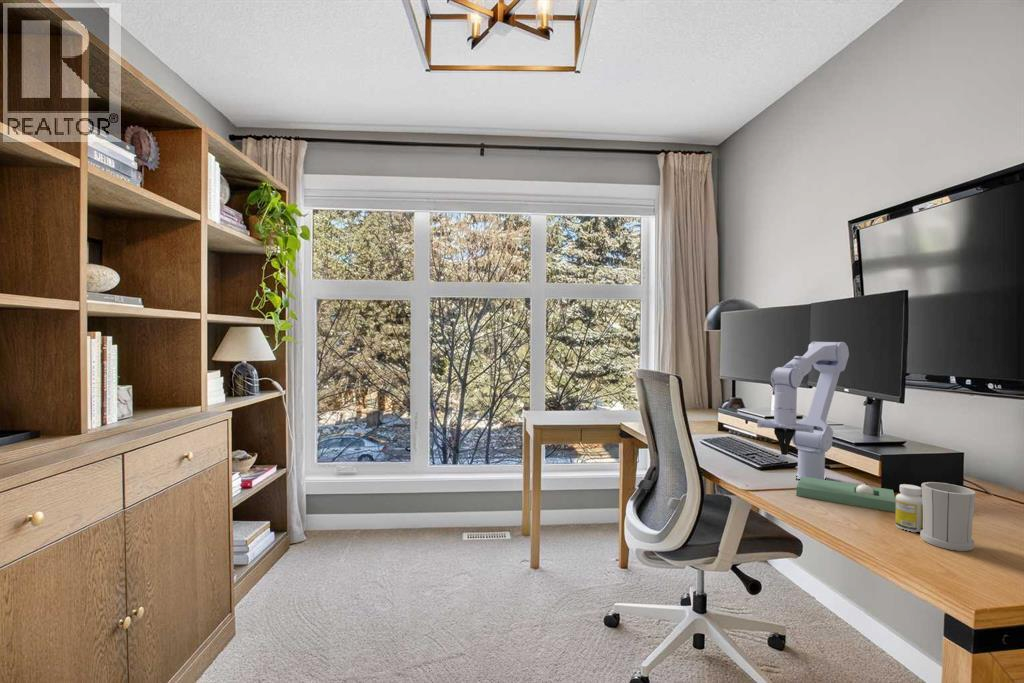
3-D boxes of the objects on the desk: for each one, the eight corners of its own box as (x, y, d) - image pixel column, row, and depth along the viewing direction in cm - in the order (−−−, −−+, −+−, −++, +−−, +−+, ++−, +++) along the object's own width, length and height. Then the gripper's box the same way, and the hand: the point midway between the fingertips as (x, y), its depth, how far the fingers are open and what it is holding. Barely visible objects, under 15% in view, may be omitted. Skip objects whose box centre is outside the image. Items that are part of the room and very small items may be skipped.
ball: (872, 500, 137) (855, 497, 140) (873, 485, 138) (856, 482, 140) (873, 501, 134) (855, 498, 136) (874, 486, 135) (856, 483, 137)
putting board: (800, 484, 151) (800, 476, 151) (892, 498, 139) (893, 489, 139) (796, 495, 140) (796, 486, 140) (895, 512, 128) (896, 502, 128)
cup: (920, 529, 116) (921, 477, 116) (973, 540, 111) (975, 485, 110) (919, 544, 108) (921, 488, 108) (977, 556, 102) (979, 497, 102)
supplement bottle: (914, 525, 119) (915, 483, 119) (930, 534, 114) (932, 490, 114) (889, 523, 120) (890, 482, 120) (905, 532, 114) (906, 489, 114)
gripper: (756, 407, 150) (755, 453, 150) (813, 412, 141) (811, 460, 142) (759, 404, 155) (758, 449, 156) (814, 409, 147) (813, 455, 147)
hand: (784, 454), depth 149 cm, fingers closed
